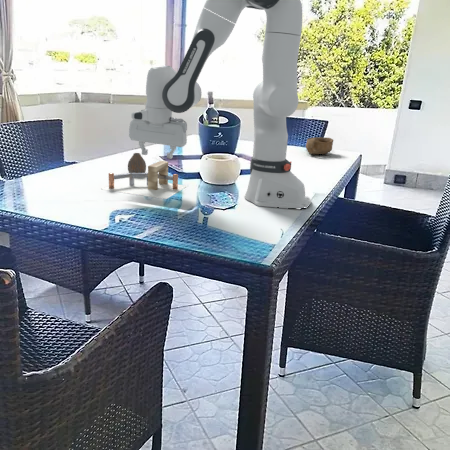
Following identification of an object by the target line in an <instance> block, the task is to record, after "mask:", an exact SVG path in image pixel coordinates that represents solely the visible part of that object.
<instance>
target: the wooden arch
mask: <svg viewBox="0 0 450 450" xmlns="http://www.w3.org/2000/svg"><path fill="white" fill-rule="evenodd" d="M147 173H148V189H152V190H157V189H158V181H159V184H168V183H169V180H166V179H159V178H158V174H161V175H168V176H169V161H167V160H166V161H164V160H159V161H157V162H154V163H153V164H150V165H148V166H147Z"/></svg>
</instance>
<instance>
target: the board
mask: <svg viewBox="0 0 450 450" xmlns="http://www.w3.org/2000/svg"><path fill="white" fill-rule="evenodd" d="M187 187H188V185H186V184H185V185H184V184H179V183H178V189H173V182H172V183H170V182H168V184H159V180H158V189H157V190H152V189H148V185H147V179H144V178H139V177H134V185H130V184H129V178H122V179H120V180H118V181H116V182H114V188H113V189H110V188H109V185H107V186H104V187H102V188H101V190H104V191H110V192H116V193H123V194H130V195H136V196H137V195H138V196H142V197H147V198H155V199H156V198H157V199H163V200H167V199H169V198H170V197H172V196H174V195H175V194H178V193H179V192H181V191H183V190H184V189H186V188H187Z"/></svg>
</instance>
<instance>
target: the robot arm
mask: <svg viewBox="0 0 450 450" xmlns="http://www.w3.org/2000/svg"><path fill="white" fill-rule="evenodd" d="M245 8H247V9H248V8H249V9H254V10H260V11H261V10H264V11H265V17H266V23H265V24H266V25H265V30H264V37H263V38H264V39H263V48H262V55H261V56H262V57H261V60H262V81H261V82H260V83H259V84H257V86H256V87H255V88H254V90H253V94H252V95H253V96H252V97H253V98H252V99H253V127H254V128H253V130H254V132H253V133H254V134H253V148H252V156H251V159H250V166H249V172H250V176H249V182H248V185H247V189H246V191H245V195H244V199H245V200H247V201H249V202H251V203H253V204H254V205H255V206H259V207H265V208H266V207H268V208H277V207H279V208H280V209H288V208H304V207H307V206H308V205H309V204H310V203H312V199H311V198H310V197H309V196H307V195H306V188H305V185H304V182H303V181H302V180H301V179H299V178H298V177H297V176H296V175H295V174H294V173H292V171H291V170H292V161H290V160H288V159H287V149H288V142H289V141H288V140H289V133H288V129H287V128H288V127H287V118H288V117H290V116H292V115H293V114H294V113H295V112H296V111H297V109H298V106H299V96H298V61H299V60H298V59H299V51H300V45H301V44H300V43H301V39H302V38H301V37H302V31H303V4H302V2H301V0H205V2H204V5H203V7H202V9H201V13H200V15H199V17H198V20H197V24H196V26H195V30H194V33H193V36H192V40H191V42H190V45H189V47H188V49H187V51H186V53H185V56H184V57H183V60H182V62H181V64H180V66H179V68H178V70H177V71H176V70H175V69H174V68H173V67H172V66H171V65H158V66H157V65H156V66H152V67H151V68H149V70H148V72H147V75H146V76H147V77H146V85H145V86H146V87H145V95H146V102H145V109H141V110H140V111H139V110H138V111H134V112H132V113H131V121H130V123H129V128H128V137H129V139H130V140H131V141H135V142H138V146H139V148H140V149H141V156H143V155H144V156H147V155H148V154H149V153H148V152H149V149H147V148H146V146H145V145H146V143H149V144H155V145H163V146H168V147H169V150H170V149H171V150H170V152H167V153H166V159H173V158H174V157H173V156H174V153H175V151H176V150H177V148H183V147H185V146H186V145H187V143H188V142H187V140H188V139H187V137H188V136H187V130H188V123H187V122H186V121H185V120H184V119H183V118H176V117H173V113H177V114H181V113H185V112H187V111H189V110H190V109H191V108H193V107H195V106H196V105H197V104H198V103H199V102H200V101H201V98H202V88H201V86H200V85H199V83H198V82H197V81H198V79H199V77H200V74H201V72H202V71H203V68H204V66H205V64H206V62H207V60H208V59H209V57H210V56H211V55H212V54H213V53H214V52H215V51H216V50H217V49H219V48H220V47H221V46H223V45H224V44H225V43H226V42H227V40H228V39H229V37H230V36H231V34H232V33H233V30H234V28H235V26H236V24H237V21H238V19H239V17H240V15H241V13H242V11H243V10H244V9H245Z"/></svg>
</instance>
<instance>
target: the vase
mask: <svg viewBox="0 0 450 450" xmlns="http://www.w3.org/2000/svg"><path fill="white" fill-rule="evenodd" d="M146 170H147V163H146V161H145V159H144V158H143V155H142V153H140V152H134V153H133V154H132V156H131V157H130V159H129V160H128V162H127V171H128V172H127V173H147V172H146Z"/></svg>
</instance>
